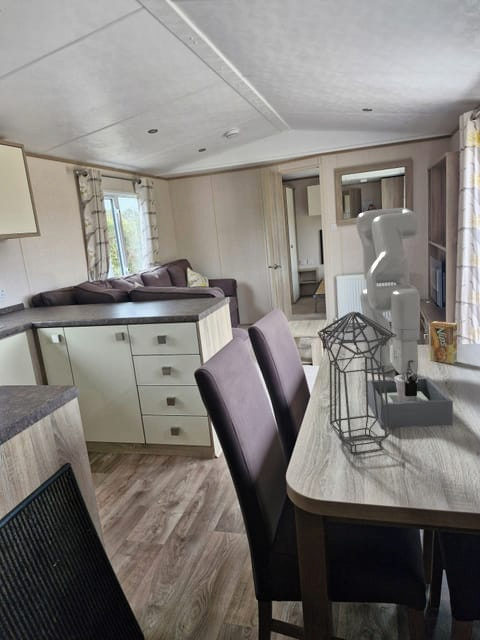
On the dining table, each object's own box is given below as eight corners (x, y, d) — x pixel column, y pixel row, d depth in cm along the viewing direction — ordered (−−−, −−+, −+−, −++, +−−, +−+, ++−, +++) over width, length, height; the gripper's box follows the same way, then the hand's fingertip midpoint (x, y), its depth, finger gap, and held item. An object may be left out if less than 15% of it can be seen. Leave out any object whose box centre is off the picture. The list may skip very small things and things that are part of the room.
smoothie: (419, 413, 125) (419, 367, 122) (396, 413, 127) (395, 367, 124) (415, 404, 131) (415, 360, 128) (393, 404, 133) (392, 360, 130)
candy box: (457, 361, 169) (457, 322, 165) (452, 364, 166) (453, 325, 163) (434, 358, 175) (434, 320, 172) (429, 360, 172) (429, 323, 169)
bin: (366, 401, 139) (366, 380, 138) (428, 398, 137) (428, 377, 136) (381, 428, 121) (380, 404, 119) (452, 425, 119) (452, 401, 117)
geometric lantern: (340, 463, 105) (331, 321, 99) (323, 435, 121) (314, 310, 114) (404, 454, 106) (398, 313, 100) (378, 427, 121) (372, 304, 115)
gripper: (384, 326, 133) (385, 379, 136) (400, 341, 116) (401, 401, 120) (409, 325, 132) (410, 378, 136) (429, 340, 115) (429, 400, 119)
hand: (405, 389), depth 128 cm, fingers open, 9 cm apart
